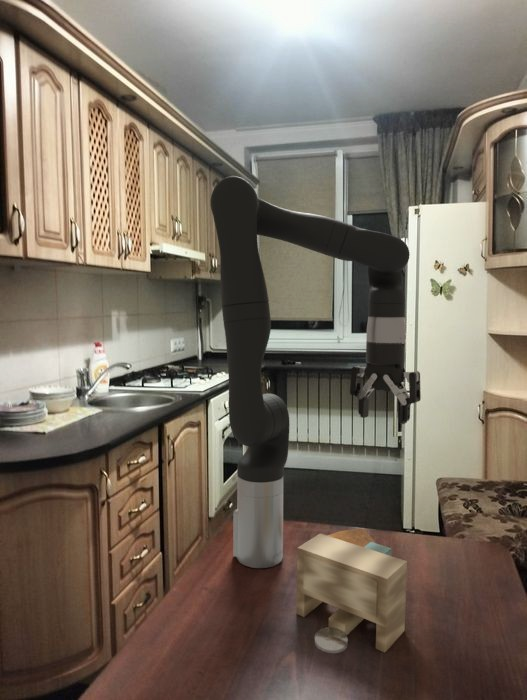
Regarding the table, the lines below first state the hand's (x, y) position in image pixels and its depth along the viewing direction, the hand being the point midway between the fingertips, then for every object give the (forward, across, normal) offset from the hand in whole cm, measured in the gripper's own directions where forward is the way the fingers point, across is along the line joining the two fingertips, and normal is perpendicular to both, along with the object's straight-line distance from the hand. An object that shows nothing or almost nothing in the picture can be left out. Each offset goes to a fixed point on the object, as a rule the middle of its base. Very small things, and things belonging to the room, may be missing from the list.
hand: (383, 420), depth 110 cm
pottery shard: (+29, -6, -1) cm, 29 cm away
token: (+28, +8, -31) cm, 43 cm away
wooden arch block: (+28, +7, -25) cm, 38 cm away
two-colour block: (+28, +7, -21) cm, 36 cm away
